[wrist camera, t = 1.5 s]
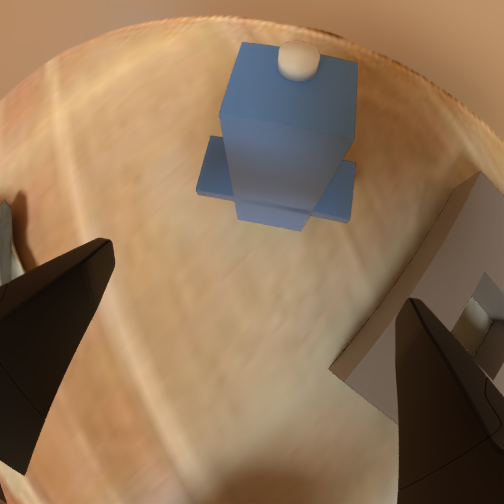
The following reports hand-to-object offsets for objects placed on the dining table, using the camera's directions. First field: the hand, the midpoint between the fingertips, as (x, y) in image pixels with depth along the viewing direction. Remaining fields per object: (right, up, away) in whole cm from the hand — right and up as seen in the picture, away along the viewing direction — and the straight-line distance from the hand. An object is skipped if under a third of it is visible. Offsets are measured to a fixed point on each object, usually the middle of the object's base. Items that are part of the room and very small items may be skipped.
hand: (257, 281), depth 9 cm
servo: (+1, +4, +14) cm, 14 cm away
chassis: (+16, -5, +12) cm, 21 cm away
